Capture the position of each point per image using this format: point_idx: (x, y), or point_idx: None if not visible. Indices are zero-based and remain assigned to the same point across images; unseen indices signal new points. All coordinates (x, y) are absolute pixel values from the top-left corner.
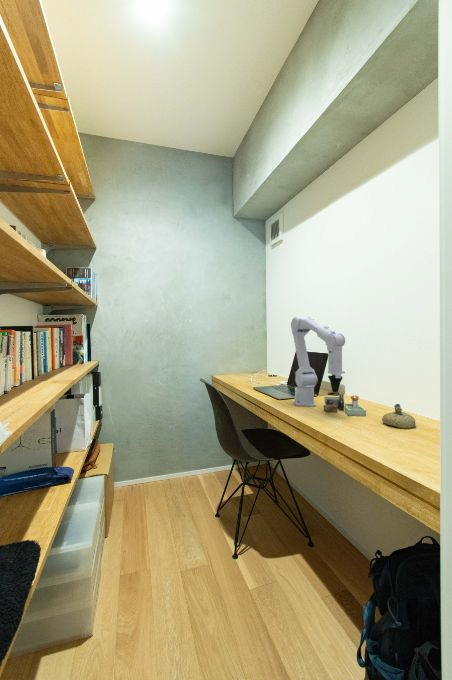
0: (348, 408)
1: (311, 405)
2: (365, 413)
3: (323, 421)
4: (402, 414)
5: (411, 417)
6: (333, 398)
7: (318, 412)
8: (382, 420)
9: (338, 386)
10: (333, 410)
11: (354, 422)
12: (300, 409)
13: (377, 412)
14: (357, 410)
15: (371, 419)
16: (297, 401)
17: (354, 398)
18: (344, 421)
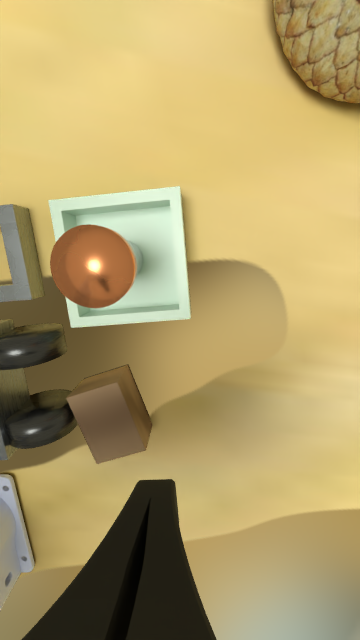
0: (146, 312)
1: (16, 497)
2: (181, 196)
3: (338, 458)
4: None
5: None
6: None
7: (151, 467)
8: (358, 102)
9: (180, 548)
10: (135, 396)
11: (344, 297)
12: None
13: (51, 84)
14: (184, 253)
15: (259, 173)
16: (8, 583)
17: (135, 276)
18: (327, 351)
